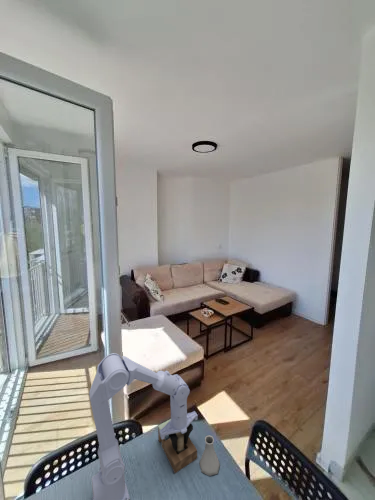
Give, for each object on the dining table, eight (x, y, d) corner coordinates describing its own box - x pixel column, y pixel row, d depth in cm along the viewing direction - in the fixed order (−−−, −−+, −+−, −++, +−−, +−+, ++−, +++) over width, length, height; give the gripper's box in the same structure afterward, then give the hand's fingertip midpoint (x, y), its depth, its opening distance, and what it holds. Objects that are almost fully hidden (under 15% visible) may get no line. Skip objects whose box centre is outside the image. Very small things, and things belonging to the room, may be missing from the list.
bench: (162, 449, 83) (162, 434, 82) (158, 440, 86) (157, 425, 85) (183, 436, 87) (183, 422, 86) (178, 428, 91) (178, 414, 90)
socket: (174, 473, 75) (174, 464, 74) (163, 450, 82) (163, 442, 82) (197, 458, 79) (197, 449, 79) (184, 437, 87) (184, 429, 86)
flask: (219, 454, 80) (219, 430, 79) (220, 477, 73) (220, 451, 72) (199, 453, 81) (199, 428, 80) (198, 475, 74) (198, 449, 73)
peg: (174, 453, 81) (173, 434, 80) (181, 448, 83) (180, 429, 82) (178, 460, 79) (178, 440, 78) (185, 455, 80) (185, 436, 79)
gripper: (165, 430, 71) (166, 466, 73) (202, 409, 79) (202, 443, 80) (156, 414, 77) (157, 448, 79) (191, 396, 85) (192, 428, 86)
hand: (179, 444), depth 80 cm, fingers open, 4 cm apart
